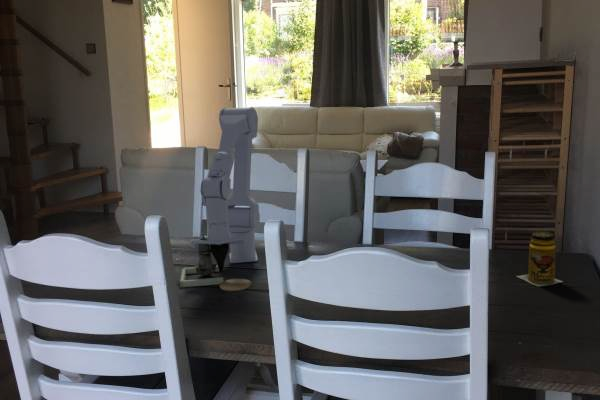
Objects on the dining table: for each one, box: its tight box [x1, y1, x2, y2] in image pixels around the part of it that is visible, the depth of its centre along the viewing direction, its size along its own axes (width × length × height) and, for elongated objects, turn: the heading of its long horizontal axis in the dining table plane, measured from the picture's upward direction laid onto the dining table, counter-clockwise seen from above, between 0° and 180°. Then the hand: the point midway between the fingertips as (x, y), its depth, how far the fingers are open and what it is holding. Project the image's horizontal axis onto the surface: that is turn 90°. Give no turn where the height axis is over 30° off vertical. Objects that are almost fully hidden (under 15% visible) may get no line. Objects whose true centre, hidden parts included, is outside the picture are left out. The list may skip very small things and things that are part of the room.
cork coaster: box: [219, 278, 252, 292], centre depth 155 cm, size 8×8×1 cm
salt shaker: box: [194, 234, 217, 279], centre depth 161 cm, size 6×6×12 cm
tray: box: [179, 265, 224, 288], centre depth 162 cm, size 12×11×2 cm
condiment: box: [516, 231, 564, 287], centre depth 150 cm, size 7×8×12 cm
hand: (221, 271), depth 163 cm, fingers closed
